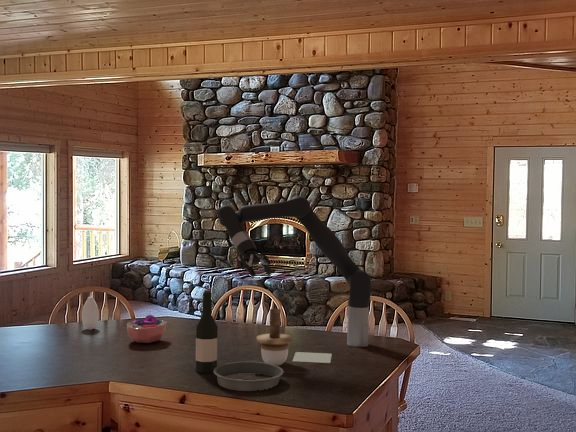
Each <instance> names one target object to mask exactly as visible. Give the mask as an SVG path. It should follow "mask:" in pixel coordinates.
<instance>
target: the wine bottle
mask: <svg viewBox="0 0 576 432" xmlns="http://www.w3.org/2000/svg"><path fill="white" fill-rule="evenodd" d="M212 295H213V294H212V291H211V289H204V291H203V292H202V315H201V317H200V318H199V320H198V322H196V323H197V324H196V325H195V332H196V333H195V373H199V372H200V373H199V374H212V372H213V373H214V369H215V368H216V367H218V330H219V329H218V324H217V323H216V321H215V319H214V317H213V314H212V301H213V298H212Z"/></svg>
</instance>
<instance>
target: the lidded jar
mask: <svg viewBox="0 0 576 432" xmlns="http://www.w3.org/2000/svg"><path fill="white" fill-rule="evenodd" d="M260 347H261V348H260V354H261V358H262V360H263V363H269V364H273V365H276V366H281V365H283V364H284V363H285V362H286V360H287V358H288V354H289V343H288V344H278V345H274V344H264V343H260Z"/></svg>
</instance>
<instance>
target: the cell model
mask: <svg viewBox="0 0 576 432" xmlns="http://www.w3.org/2000/svg"><path fill="white" fill-rule="evenodd" d="M167 323H168V322H167V321H166V320H163V319H157V317H156V316H154V315H152V314H149V315H146V316H145V318H144V319H136V320H131V321H129V322H127V323H126V329H127V335H128V337H129V338H130V339H131V340H133V341H134V342H136V343H141V344H150V343H155V342H157V341H159V340H161V339H162V338H163V337H164V336H165V333H166V329H167Z"/></svg>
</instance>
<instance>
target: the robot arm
mask: <svg viewBox="0 0 576 432" xmlns="http://www.w3.org/2000/svg"><path fill="white" fill-rule="evenodd" d="M239 208H240V209H239V210H237V211H236V210H235V209H234V208H233V207H232V206H231V205H229V204H224V205H221V206H220V207H219V208H218V209H217V210H218V211H217V216H218V220H219V224H220V225H221V226H222V227H224V228H226V233H227V234H228V237H229V238H230V241H232V243H233V246H234V248H235V250H236V251H237V253H238V254H239V255H238V256H237V258H236V260H237V262H238V264H239V266H240V268H241V269H242V270H246V271H248V273H249V275H250V277H252V278H253V277H255V276H256V275H257V273H256V271H255V269H254V268H253V266H254V265H255V266H258V267H261V268H263V270H264V272H265V273H266V274H267V276H271V274H272V269H271V267H270V265H271V263H272V262H271V260H270V259H269V258H268V256H267V255H266V253H265V252H261V253H259V252H258V249H257V246H256V244H255V243H254V241H253V239H252V238H251V236H250V235H249V234H248V233H247V231H246V230H245V228H244V226H243V225H242V224H243V223H246V222H253V221H255V222H256V221H262V220H267V219H274V218H295V219H297V221H298V222H299V223H300V224H301V225H302V226H303V227H304V228H305V230H306V231H307V232H308V234H309V236H310V237H311V239H312V241H313V242H314V244H315V245H316V246H317V247H318V249H319V250H320V251H321V253H322V254H324V256H325V257H326V258H327V259H328V260H329V261H330V263H332V264H333V265H334V267H336V268H337V270H338V271H339V272H340V274H341V275H342V276H343V278H344V280H345V281H346V283H347V284H348V286H349V298H348V299H347V331H346V332H347V333H346V334H347V335H346V344H347V346H349V347H354V348H355V347H356V348H363V347H367V348H368V347H369V328H370V327H369V322H370V320H369V317H370V316H369V315H370V314H369V312H370V302H371V295H372V293H371V292H372V279H371V276H370V274H369V273H367V272H366V271H364V270H363V269H361V268H360V266H358V264H356V263H355V262H354V260H353V259H352V257H350V254H348V252H347V250H346V248H345V246H344V244H343V243H342V242H341V240H340V239H339V238H338V237H337V236H338V235H336V234H335V232H333V231H332V230H331V229H332V228H329V226H328V225H326V224H325V223H324V221H323V220H321V218H320V217H319V216H318V215H317V214H316V213H315V212H314V209H312V206H311V204H310V202H309V200H308V199H307V198H306V197H304V196H302V195H295V196H294V195H293V196H292V197H291V198H290V199H288V200H285V201H281V202H279V201H278V202H272V203H254V204H253V203H252V204H247V205H242V206H241V207H239Z"/></svg>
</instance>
